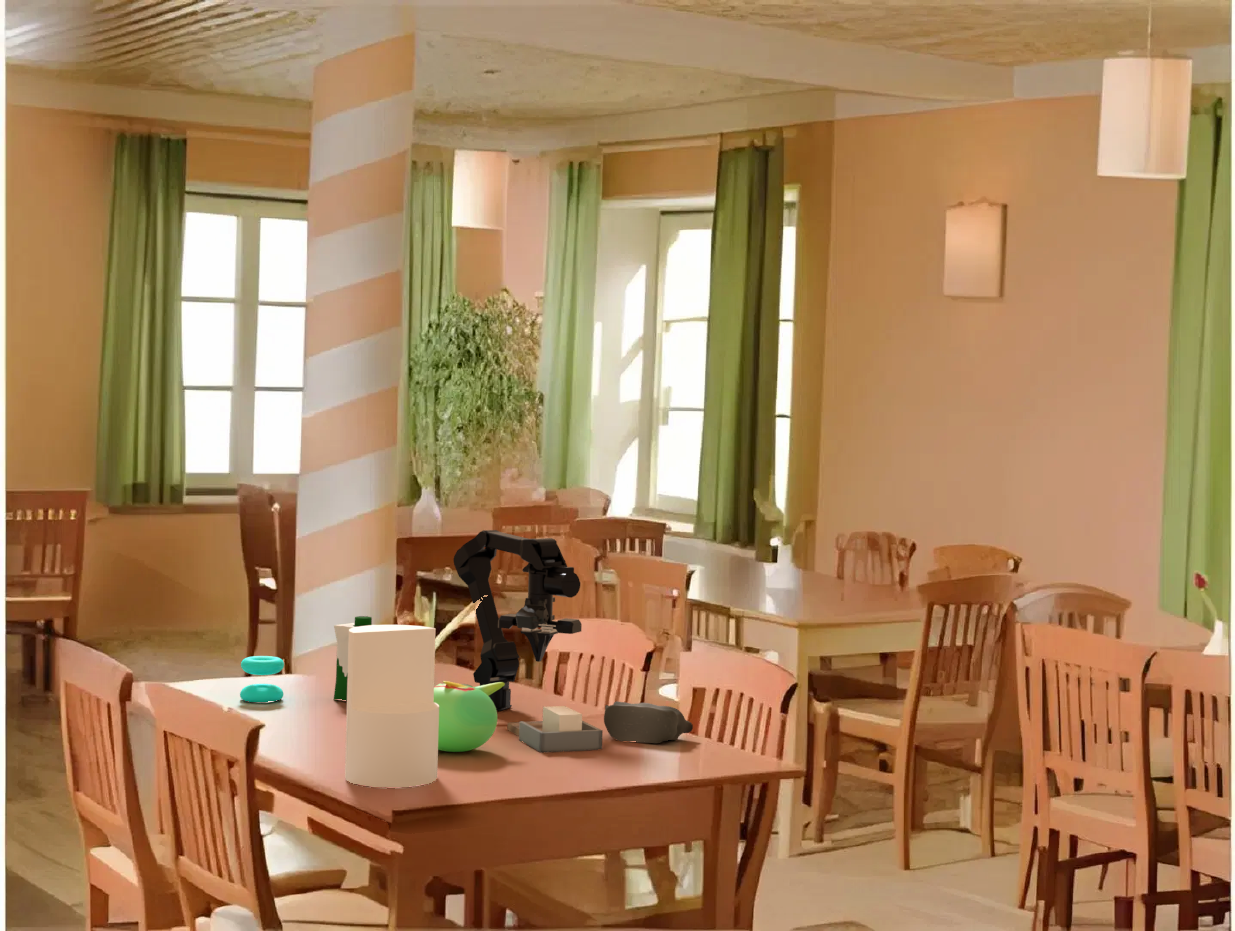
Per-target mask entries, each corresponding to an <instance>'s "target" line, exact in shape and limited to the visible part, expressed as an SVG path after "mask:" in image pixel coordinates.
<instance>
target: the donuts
mask: <svg viewBox="0 0 1235 931" xmlns="http://www.w3.org/2000/svg"><path fill="white" fill-rule="evenodd" d="M240 667H241V669H242V671H243V672H245V673H247V674H248V675H249V674H250V675H255V676H268V675H269V676H272V675H276V674H278V673H280V672H281V671H283V669H284V667H285V662H284V660H283V659H282V658H280V657H278V656H271V655H270V656H269V655H253V656H248V657H245V658H243V659H242V661H241V662H240ZM239 696H240V699H241V700H242V699H243V700H242V701H244V700H245V701H244V702H246V701H249V702H248V703H250V702H268V701H276V700H279V701H280V699H281V700H282V698H284V691H283V689H282V688H281V687H280V686H278V685H276V684H273V683H271V684H270V683H252V684H249V685H246V686H244V687H243V688H242V689H241V690H240V693H239Z"/></svg>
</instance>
